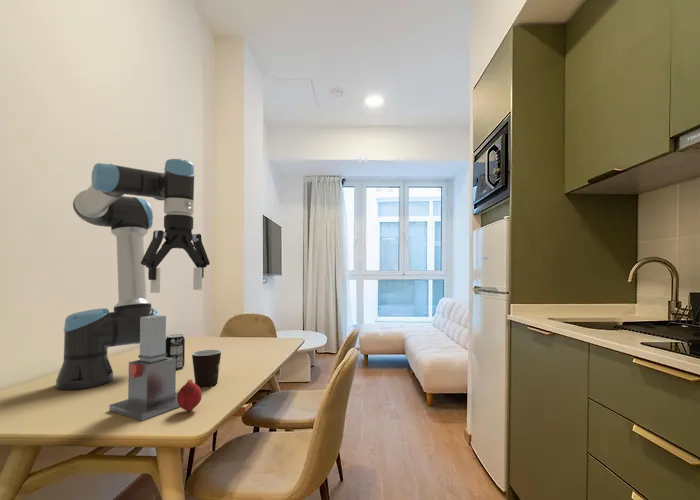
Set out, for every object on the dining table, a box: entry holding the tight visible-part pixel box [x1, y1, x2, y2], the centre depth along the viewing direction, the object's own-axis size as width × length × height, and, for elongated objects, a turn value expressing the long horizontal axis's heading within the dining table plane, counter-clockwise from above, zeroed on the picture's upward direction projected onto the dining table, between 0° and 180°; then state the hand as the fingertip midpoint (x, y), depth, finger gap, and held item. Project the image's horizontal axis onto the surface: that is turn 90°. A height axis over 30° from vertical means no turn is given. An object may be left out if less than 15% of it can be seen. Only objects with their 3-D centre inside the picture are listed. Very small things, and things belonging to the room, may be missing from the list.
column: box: [137, 314, 167, 364], centre depth 99 cm, size 5×5×22 cm
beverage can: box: [166, 333, 186, 371], centre depth 137 cm, size 7×7×12 cm
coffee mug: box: [191, 349, 222, 389], centre depth 118 cm, size 12×9×10 cm
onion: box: [177, 378, 203, 413], centre depth 94 cm, size 6×6×8 cm
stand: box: [108, 357, 181, 421], centre depth 98 cm, size 14×14×12 cm
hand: (177, 291), depth 103 cm, fingers open, 13 cm apart
